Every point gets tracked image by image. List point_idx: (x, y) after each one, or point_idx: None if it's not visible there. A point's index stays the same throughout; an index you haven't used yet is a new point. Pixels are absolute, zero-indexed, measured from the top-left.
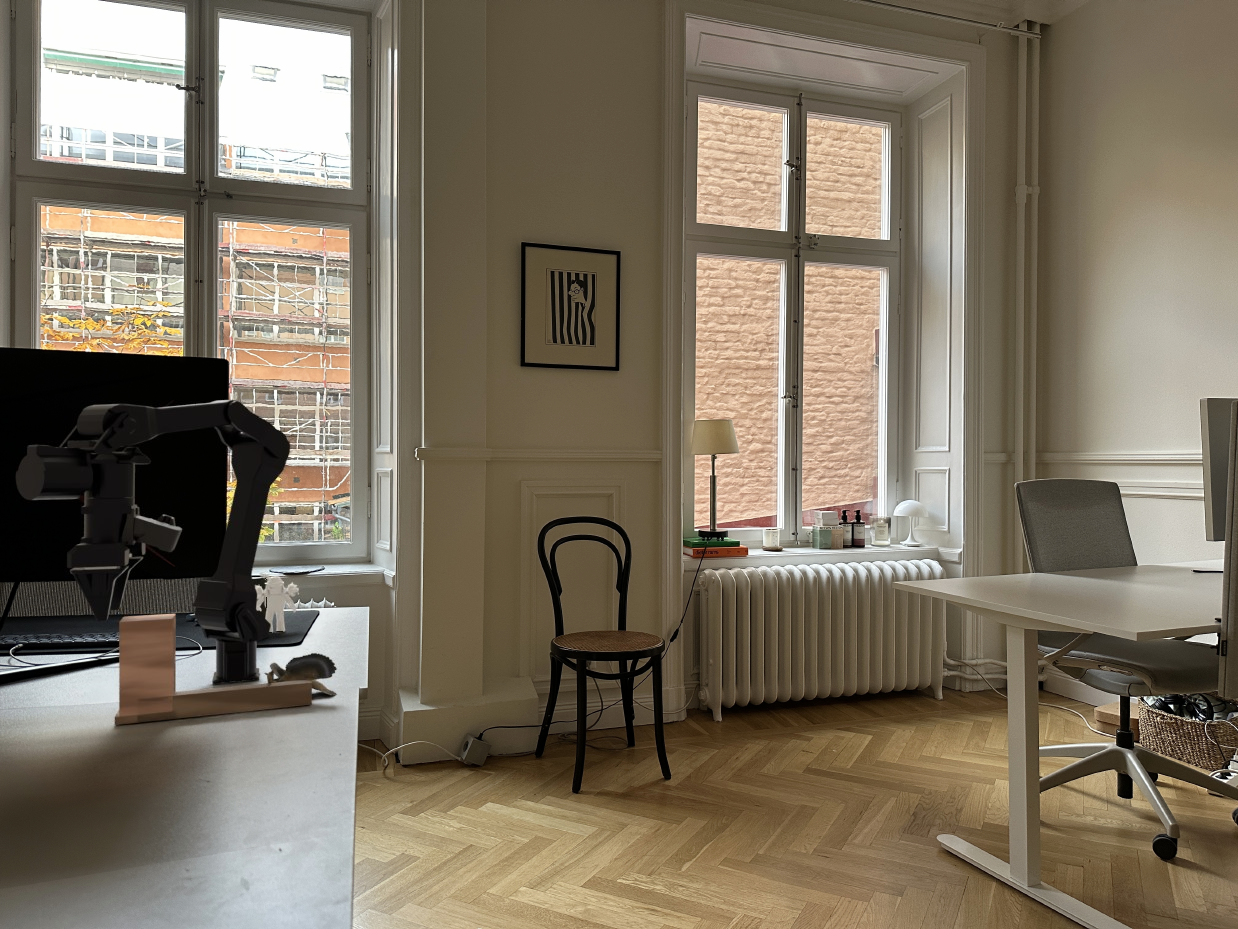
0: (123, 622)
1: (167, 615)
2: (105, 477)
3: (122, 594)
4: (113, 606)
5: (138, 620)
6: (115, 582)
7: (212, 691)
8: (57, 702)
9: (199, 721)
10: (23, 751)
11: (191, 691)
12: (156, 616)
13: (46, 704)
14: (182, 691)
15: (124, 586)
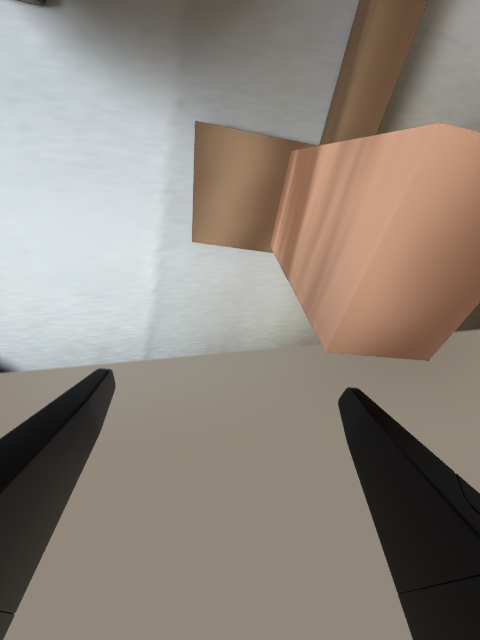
0: (433, 349)
1: (461, 185)
2: None
3: (69, 417)
4: (110, 392)
5: (464, 312)
6: (28, 511)
7: (406, 38)
8: (131, 322)
9: None
10: None
11: (359, 108)
12: (433, 244)
13: (138, 331)
14: (342, 133)
15: (31, 458)
